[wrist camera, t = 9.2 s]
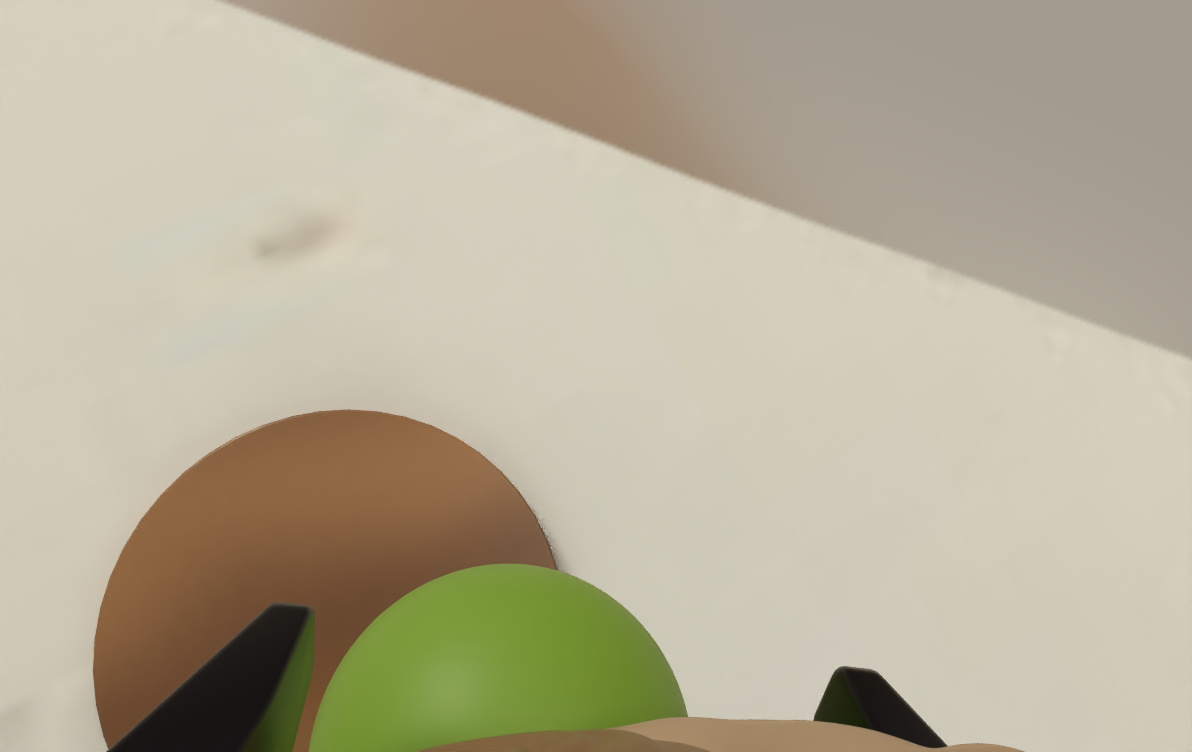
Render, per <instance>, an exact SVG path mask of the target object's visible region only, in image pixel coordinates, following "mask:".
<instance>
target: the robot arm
mask: <svg viewBox="0 0 1192 752" xmlns="http://www.w3.org/2000/svg"><path fill="white" fill-rule="evenodd" d="M314 629H315V613H314V610H313V608H312V607H310V606H308V605H302V604H293V603H284V602H275V603H273V604H271V605H269V606H268V607H267V608H265V609H264V610H263V611H262V612H261V613H260V614H259V615H258V616H257V617H255V618H254V619H253V620H252V621H251V622H250V623H249V624H248V625H247V626H246V627H244V628H243V629H242V630H241V631H240V632H239V633H238V634H237V635H236V636H234V637H233V638H232V639H231V640H230V641H229V642H228V643H227V644H226V645H224V646H223V647H222V648H221V649H220V650H219V651H218V652H217V653H216V654H214V655H213V656H212V657H211V658H210V659H209V660H208V661H207V662H206V663H204V664H203V665H202V666H201V667H200V668H199V669H198V670H197V671H196V672H194V673H193V674H192V675H191V676H190V677H189V678H188V679H187V680H186V681H184V682H183V683H182V684H181V685H180V686H179V687H178V688H177V689H176V690H174V691H173V692H172V693H171V694H170V695H169V696H168V697H167V698H166V699H164V700H163V701H162V702H161V703H160V704H159V705H158V706H157V707H156V708H154V709H153V710H152V711H151V712H150V713H149V714H148V715H147V716H146V717H144V718H143V719H142V720H141V721H140V722H139V723H138V724H137V725H136V726H134V727H133V728H132V729H131V730H130V731H129V732H128V733H127V734H126V735H124V736H123V737H122V738H121V739H120V740H119V741H118V742H117V743H116V744H114V745H113V746H112V747H111V748H110V749H109V750H108V751H107V752H292V751H293V747H294V743H295V739H296V735H297V731H298V728H299V724H300V720H301V716H302V712H303V708H304V704H305V701H306V697H307V693H308V689H309V685H310V681H311V676H312V670H313V660H314ZM813 721H820V722H829V723H837V724H844V725H850V726H855V727H860V728H865V729H869V730H874V731H877V732H881V733H884V734H887V735H891V736H894V737H897V738H900V739H903V740H906V741H908V742H911V743H914V744H917V745H920V746H923V747H927V748H942V747H947V745H946V744H945V743H944V742H943V740H942V739H941V738H940V737H939V736H938V735H937V734H936V733H935V732H934V731H933V730H932V729H931V728H930V727H929V726H928V725H927V724H926V722H925V721H924V720H923V719H922V718H921V717H920V716H919V715H918V714H917V713H916V712H915V711H914V710H913V709H912V708H911V707H910V706H909V704H908V703H907V702H906V701H905V700H904V699H903V698H902V697H901V696H900V695H899V694H898V693H897V692H896V691H895V690H894V689H893V688H892V686H891V685H890V684H889V683H888V682H887V681H886V680H885V679H884V678H883V677H882V676H881V675H880V674H879V673H877V672H876V671H874V670H871V669H865V668H856V667H847V666H842V667H839V668H838V669H836V670H835V672H834V673H833V675H832V677H831V679H830V681H829V684H828V686H827V688H826V690H825V693H824V695H823V697H822V699H821V702H820V704H819V706H818V708H817V711H816V713H815V716H814V720H813Z"/></svg>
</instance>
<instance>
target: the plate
mask: <svg viewBox="0 0 1192 752" xmlns="http://www.w3.org/2000/svg"><path fill="white" fill-rule="evenodd" d="M491 564H526V565H534V566H540V567H545V568H549V569H553V570H557V566H556V564H555V561H554V558H553V555H552V552H551V549H550V546H549V543H548V541H547V538H546V536H545V534H544V532H543V530H542V528H541V526H540V524H539V522H538V520H537V518H536V516H535V514H534V513H533V512H532V510H531V509H530V507H529V506H528V504H527V503H526V501H525V500H524V498H523V497H522V495H521V494H520V492H519V491H518V490H517V489H516V488H515V487H514V485H513V484H512V483H511V482H510V481H509V480H508V479H507V478H506V476H505V475H504V474H503V473H502V472H501V471H500V470H499V469H498V468H497V467H495V466H494V465H493V464H492V463H491V462H490V461H489V460H487V459H486V458H485V457H484V456H483V455H482V454H480V453H479V452H478V451H476V450H475V449H473V448H472V447H470V446H468V445H467V444H465V443H464V442H462V441H461V440H459V439H458V438H456V437H454V436H452V435H450V434H448V433H446V432H444V431H442V430H440V429H438V428H435V427H433V426H431V425H428V424H425V423H422V422H419V421H416V420H413V419H410V418H407V417H403V416H398V415H393V414H388V413H383V412H377V411H363V410H333V411H319V412H313V413H308V414H302V415H297V416H291V417H288V418H285V419H282V420H278V421H275V422H272V423H269V424H265V425H262V426H260V427H258V428H256V429H253V430H251V431H249V432H247V433H244V434H242V435H240V436H238V437H235V438H234V439H232V440H230V441H229V442H227V443H225V444H224V445H222V446H220V447H219V448H217V449H215V450H214V451H212V452H210V453H208V454H207V455H206V456H205V457H203V458H202V459H201V460H199V461H198V462H197V463H196V464H194V465H193V466H192V467H190V468H189V469H188V470H186V471H185V472H184V473H183V474H182V475H181V476H180V477H179V478H178V479H177V480H176V481H175V482H174V483H173V484H172V485H170V486H169V487H168V488H167V489H166V490H165V491H164V492H163V493H162V494H161V495H160V497H159V498H158V499H157V500H156V502H155V503H154V504H153V505H152V507H151V508H150V509H149V510H148V512H147V513H146V514H145V515H144V517H143V518H142V519H141V520H140V522H139V524H138V525H137V527H136V529H135V530H134V532H133V533H132V535H131V537H130V538H129V540H128V541H127V543H126V545H125V546H124V548H123V550H122V552H121V555H120V557H119V559H118V561H117V563H116V565H115V568H114V570H113V572H112V574H111V576H110V579H109V582H108V585H107V589H106V592H105V595H104V598H103V601H102V604H101V607H100V613H99V618H98V624H97V629H96V635H95V643H94V664H93V676H94V687H95V699H96V706H97V711H98V715H99V719H100V723H101V728H102V732H103V736H104V739H105V741H106V744H107V746H108V749H110V748H111V747H112V746H113V745H114V744H116V743H117V742H118V741H119V740H120V739H121V738H122V737H123V736H124V735H126V734H127V733H128V732H129V731H130V730H131V729H132V728H133V727H134V726H136V725H137V724H138V723H139V722H140V721H141V720H142V719H143V718H144V717H146V716H147V715H148V714H149V713H150V712H151V711H152V710H153V709H154V708H156V707H157V706H158V705H159V704H160V703H161V702H162V701H163V700H164V699H166V698H167V697H168V696H169V695H170V694H171V693H172V692H173V691H174V690H176V689H177V688H178V687H179V686H180V685H181V684H182V683H183V682H184V681H186V680H187V679H188V678H189V677H190V676H191V675H192V674H193V673H194V672H196V671H197V670H198V669H199V668H200V667H201V666H202V665H203V664H204V663H206V662H207V661H208V660H209V659H210V658H211V657H212V656H213V655H214V654H216V653H217V652H218V651H219V650H220V649H221V648H222V647H223V646H224V645H226V644H227V643H228V642H229V641H230V640H231V639H232V638H233V637H234V636H236V635H237V634H238V633H239V632H240V631H241V630H242V629H243V628H244V627H246V626H247V625H248V624H249V623H250V622H251V621H252V620H253V619H254V618H255V617H257V616H258V615H259V614H260V613H261V612H262V611H263V610H264V609H265V608H267V607H268V606H269V605H271V604H273V603H275V602H284V603H293V604H302V605H308V606H310V607H312V608H313V610H314V613H315V629H314V660H313V670H312V676H311V681H310V685H309V689H308V693H307V697H306V701H305V704H304V708H303V712H302V716H301V720H300V724H299V728H298V731H297V735H296V739H295V743H294V747H293V751H292V752H309V745H310V740H311V735H312V731H313V726H314V723H315V719H316V716H317V713H318V710H319V707H320V704H321V701H322V699H323V696H324V694H325V691H326V689H327V687H328V685H329V683H330V681H331V679H332V677H333V675H334V673H335V671H336V669H337V668H338V666H339V664H340V663H341V661H342V659H343V658H344V656H345V655H346V653H347V652H348V651H349V649H350V648H351V646H352V645H353V644H354V642H355V641H356V640H357V639H358V638H359V636H360V635H361V634H362V633H363V632H364V631H365V629H366V628H367V627H368V626H369V625H370V624H371V623H372V622H373V621H374V620H375V619H376V618H377V617H378V616H379V615H380V614H382V613H383V612H384V611H385V610H386V609H387V608H389V607H390V606H391V605H392V604H394V603H395V602H396V601H398V600H399V599H401V598H402V597H403V596H405V595H406V594H408V593H410V592H411V591H413V590H415V589H416V588H418V587H420V586H422V585H424V584H426V583H428V582H430V581H432V580H434V579H437V578H439V577H441V576H444V575H447V574H450V573H453V572H456V571H459V570H463V569H467V568H471V567H477V566H483V565H491Z"/></svg>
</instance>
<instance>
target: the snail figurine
mask: <svg viewBox="0 0 1192 752" xmlns="http://www.w3.org/2000/svg"><path fill="white" fill-rule="evenodd" d="M309 752H1024V751H1021V750H1018V749H1014V748H1010V747H1006V746H1001V745H994V744H979V743H976V744H960V745H953V746H947V747H942V748H927V747H923V746H920V745H917V744H914V743H911V742H908V741H906V740H903V739H900V738H897V737H894V736H891V735H887V734H884V733H881V732H877V731H874V730H869V729H865V728H860V727H855V726H850V725H844V724H837V723H829V722H820V721H807V720H727V719H715V718H701V717H688V715H687V711H686V707H685V703H684V700H683V697H682V694H681V691H680V688H679V685H678V683H677V680H676V678H675V676H674V673H673V671H672V669H671V667H670V665H669V663H668V662H667V660H666V658H665V656H664V654H663V653H662V651H661V650H660V648H659V646H658V645H657V644H656V642H655V641H654V639H653V638H652V637H651V635H650V634H649V633H648V631H647V630H646V629H645V628H644V627H643V625H642V624H641V623H640V622H639V621H638V620H637V619H636V618H635V617H634V616H633V615H632V614H631V613H630V612H629V611H628V610H627V609H626V608H624V607H623V606H622V605H621V604H620V603H618V602H617V601H616V600H615V599H613V598H612V597H611V596H609V595H608V594H606V593H605V592H603V591H602V590H600V589H598V588H597V587H595V586H593V585H591V584H589V583H587V582H585V581H583V580H581V579H579V578H577V577H574V576H572V575H569V574H566V573H563V572H560V571H557V570H553V569H549V568H545V567H540V566H534V565H526V564H491V565H483V566H477V567H471V568H467V569H463V570H459V571H456V572H453V573H450V574H447V575H444V576H441V577H439V578H437V579H434V580H432V581H430V582H428V583H426V584H424V585H422V586H420V587H418V588H416V589H415V590H413V591H411V592H410V593H408V594H406V595H405V596H403V597H402V598H401V599H399V600H398V601H396V602H395V603H394V604H392V605H391V606H390V607H389V608H387V609H386V610H385V611H384V612H383V613H382V614H380V615H379V616H378V617H377V618H376V619H375V620H374V621H373V622H372V623H371V624H370V625H369V626H368V627H367V628H366V629H365V631H364V632H363V633H362V634H361V635H360V636H359V638H358V639H357V640H356V641H355V642H354V644H353V645H352V646H351V648H350V649H349V651H348V652H347V653H346V655H345V656H344V658H343V659H342V661H341V663H340V664H339V666H338V668H337V669H336V671H335V673H334V675H333V677H332V679H331V681H330V683H329V685H328V687H327V689H326V691H325V694H324V696H323V699H322V701H321V704H320V707H319V710H318V713H317V716H316V719H315V723H314V726H313V731H312V735H311V740H310V745H309Z"/></svg>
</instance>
